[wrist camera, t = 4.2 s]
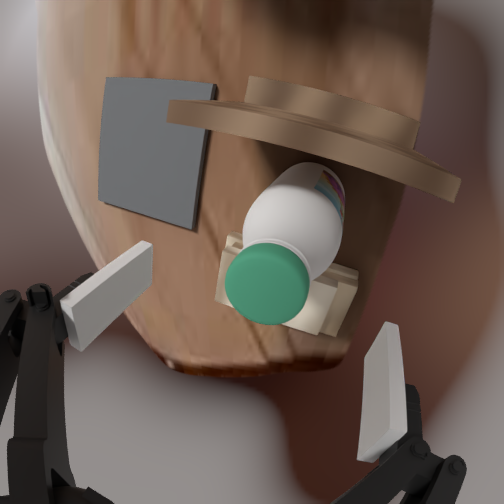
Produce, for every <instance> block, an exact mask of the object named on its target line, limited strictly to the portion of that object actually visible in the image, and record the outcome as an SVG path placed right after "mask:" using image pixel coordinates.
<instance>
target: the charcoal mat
mask: <svg viewBox="0 0 504 504" xmlns="http://www.w3.org/2000/svg"><path fill="white" fill-rule="evenodd" d="M216 85H217V84H210V83H201V82H192V81H181V80H169V79H153V78H123V77H106V83H105V91H104V99H103V109H102V119H101V132H100V148H99V178H98V200H99V201H102V202H106V203H109V204H112V205H115V206H118V207H121V208H125V209H128V210H131V211H134V212H137V213H141V214H144V215H147V216H150V217H153V218H156V219H160V220H163V221H166V222H169V223H172V224H175V225H178V226H182V227H185V228H188V229H191V230H192V229H193V228H194V227H195V222H196V214H197V206H198V198H199V191H200V183H201V176H202V169H203V162H204V156H205V149H206V143H207V137H208V129H203V128H197V127H192V126H186V125H180V124H173V123H167V122H166V120H167V112H168V105H169V100H214V96H215V90H216Z"/></svg>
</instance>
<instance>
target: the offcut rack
mask: <svg viewBox="0 0 504 504" xmlns="http://www.w3.org/2000/svg"><path fill="white" fill-rule="evenodd" d="M166 122H167V123H173V124H180V125H186V126H192V127H197V128H203V129H208V130H213V131H219V132H224V133H228V134H233V135H238V136H243V137H247V138H252V139H256V140H260V141H265V142H269V143H273V144H277V145H281V146H285V147H289V148H292V149H296V150H300V151H304V152H307V153H311V154H314V155H318V156H321V157H325V158H328V159H332V160H335V161H338V162H341V163H345V164H348V165H351V166H354V167H357V168H360V169H363V170H366V171H369V172H372V173H375V174H378V175H381V176H384V177H387V178H389V179H392V180H395V181H398V182H401V183H403V184H406V185H409V186H411V187H414V188H417V189H419V190H422V191H424V192H427V193H429V194H432V195H434V196H436V197H439V198H442V199H444V200H446V201H449V202H451V203H454V200H455V197H456V195H457V192H458V189H459V186H460V183H461V179H460V178H458V177H457V176H455V175H454V174H452V173H451V172H449V171H448V170H446V169H444V168H443V167H441V166H440V165H438V164H437V163H435V162H433V161H432V160H430V159H428V158H427V157H425V156H423V155H421V154H420V153H418V152H417V151H415V150H413V147H414V144H415V140H416V137H417V133H418V129H419V126H420V122H419V121H416V120H414V119H411V118H408V117H406V116H403V115H400V114H398V113H395V112H392V111H389V110H386V109H383V108H380V107H377V106H374V105H371V104H368V103H365V102H362V101H359V100H355V99H352V98H348V97H345V96H341V95H338V94H334V93H330V92H326V91H323V90H319V89H314V88H310V87H306V86H302V85H297V84H292V83H288V82H283V81H277V80H272V79H267V78H261V77H255V76H249V81H248V85H247V90H246V95H245V100H244V102H235V101H216V100H169V105H168V112H167V120H166ZM242 248H243V234H241V233H237V232H234V231H232V232H231V233H230V234H229V235H228V236H227V242H226V247H225V249H224V250H223V251H222V257H221V263H220V269H219V276H218V282H217V289H216V295H215V301H217V302H220V303H222V304H225V305H228V306H231V307H233V306H232V304H231V303H230V301H229V299H228V297H227V294H226V291H225V276H226V272H227V270H228V267H229V266H230V264H231V263H232V261H233V260H234V258H235V257H236V256H237V255H238V254H239V252H240V251H241V250H242ZM357 289H358V271H357V270H354V269H351V268H348V267H345V266H342V265H339V264H336V263H333V262H332V263H331V264H330V266H329V267H328V268H327V269H326V270H325V271H324V272H323V273H322V274H321V275H320V276H318V277H317V278H315V279H314V280H312V281H311V285H310V288H309V293H308V297H307V300H306V303H305V305H304V307H303V309H302V310H301V311H300V312H299V314H298V315H297V316H296V317H294V318H293V319H292V320H290V321H288V322H285V323H282V324H283V325H286V326H289V327H292V328H295V329H298V330H301V331H305V332H308V333H311V334H314V335H318V333H319V332H321V333H324V334H327V335H331V336H334V337H335V336H336V334H337V332H338V330H339V328H340V326H341V324H342V322H343V320H344V318H345V316H346V313H347V311H348V309H349V307H350V305H351V302H352V300H353V298H354V296H355V294H356V291H357Z"/></svg>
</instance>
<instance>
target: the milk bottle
mask: <svg viewBox="0 0 504 504" xmlns="http://www.w3.org/2000/svg"><path fill="white" fill-rule="evenodd" d="M344 212H345V193H344V188H343V185H342V183H341V181H340V179H339V178H338V177H337V175H336V174H335V173H334V172H333V171H332V170H330V169H329V168H327V167H326V166H324V165H321V164H318V163H313V162H304V163H299V164H296V165H294V166H292V167H290V168H289V169H287V170H286V171H285V172H283V173H282V174H281V175H280V176H279V177H278V178H277V179H276V180H275V181H274V182H273V183H271V184H270V185H269V186H268V187H267V188H266V189H265V190H264V191H263V192H262V193H261V195H260V196H259V197H258V198H257V199H256V200H255V202H254V203H253V205H252V206H251V208H250V210H249V212H248V214H247V216H246V219H245V222H244V226H243V248H242V250H241V251H240V252H239V254H238V255H237V256H236V257H235V258H234V260H233V261H232V263H231V264H230V266H229V267H228V270H227V272H226V276H225V291H226V294H227V297H228V299H229V301H230V303H231V304H232V306H233V307H234V308H235V309H236V310H237V311H238V312H239V313H240V314H241V315H243V316H244V317H246V318H247V319H249V320H251V321H254V322H256V323H260V324H265V325H278V324H282V323H285V322H288V321H290V320H292V319H293V318H294V317H296V316H297V315H298V314H299V312H300V311H301V310H302V309H303V307H304V305H305V303H306V300H307V297H308V293H309V288H310V285H311V281H312V280H314V279H315V278H317V277H318V276H320V275H321V274H322V273H323V272H324V271H325V270H326V269H327V268H328V267H329V266H330V264H331V263H332V262H333V260H334V258H335V256H336V254H337V252H338V250H339V247H340V243H341V238H342V233H343V224H344Z"/></svg>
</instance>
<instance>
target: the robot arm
mask: <svg viewBox="0 0 504 504" xmlns="http://www.w3.org/2000/svg"><path fill="white" fill-rule="evenodd" d="M152 258H153V244H151V243H148V242H145V241H141V242H139V243H138V244H136V245H135V246H133V247H132V248H130V249H129V250H128V251H126V252H125V253H123V254H122V255H120V256H119V257H118V258H116V259H115V260H113V261H112V262H111V263H109V264H108V265H106V266H105V267H104V268H102V269H101V270H100V271H98V272H97V273H96V274H93V273H88V274H85V275H82V276H81V277H79V278H78V279H77V280H75V282H72V283H71V284H70V286H67V287H66V288H65V289H63V290H62V291H60V292H59V293H58V294H56V295H55V296H54V297H52V292H51V288H50V287H49V285H46V284H42V283H40V284H35V285H33V286H31V287H29V288H28V289H27V291H26V295H27V299H28V301H25V300H22V298H21V294H20V292H19V291H17V290H7V291H5V292H3V293H2V294H1V295H0V425H1V422H2V418H3V415H4V412H5V409H6V405H7V402H8V399H9V396H10V394H11V390H12V388H13V385H14V382H15V379H16V377H17V374H18V378H17V388H16V399H15V400H16V401H15V415H14V436H13V438H11V439H9V440H8V444H7V465H8V484H9V495H6V496H0V504H114V503H113V502H112V501H110V500H109V499H107V498H105V497H104V496H102V495H101V494H99V493H97V492H96V491H94V490H93V489H91V488H90V487H88V488H87V489H82V488H79V487H76V484H75V480H74V477H73V474H72V472H71V469H70V465H69V458H68V449H67V439H66V426H65V410H64V409H65V407H64V349H65V344H64V340H65V339H66V338H67V337H68V338H69V341H70V345H72V346H73V347H75V348H76V349H78V350H80V351H83V350H84V349H85V348H86V347H87V346H88V345H89V344H90V343H91V342H92V341H93V340H94V339H95V338H96V337H97V336H98V335H99V334H100V333H101V332H102V331H103V330H104V329H105V328H106V327H107V326H108V325H109V324H110V323H111V322H112V321H114V319H116V318H117V316H119V315H120V314H121V313H122V312H123V311H124V310H125V309H126V308H127V307H128V306H129V305H130V304H131V303H132V302H133V301H135V300H136V299H137V298H138V297H139V296H140V295H141V294H142V293H143V292H144V291H145V290H146V289H147V288H148V287H150V286H151V285H152ZM420 411H421V409H420V399H419V394H418V392H417V390H416V388H415V386H413V385H409V384H405V381H404V370H403V360H402V351H401V343H400V335H399V328H398V325H396V324H393V323H390V322H386V321H385V323H384V325H383V327H382V328H381V330H380V332H379V334H378V335H377V338H376V339H375V341H374V342H373V344H372V346H371V348H370V349H369V351H368V353H367V354H366V356H365V358H364V384H363V401H362V415H361V428H360V437H359V448H358V456H357V460H360V461H365V462H372V463H373V462H374V461H375V460H376V459H378V458H379V465H378V466H377V467H376V468H374V469H373V470H372V471H371V472H369V473H368V475H367V476H365V477H364V478H363V479H362V480H360V481H359V482H358V483H357V484H355V485H354V486H353V487H352V488H350V489H349V490H348V491H347V492H345V493H344V494H343V495H341V496H340V497H339V498H337V499H336V500H335V501H333V502H332V503H330V504H388V503H389V502H390V501H391V500H392V499H393V498H394V497H395V496H396V495H397V494H398V493H399V492H400V491H401V490H403V491H405V492H406V493H405V495H404V497H403V499H402V500H401V502H400V504H455V502H456V499H457V496H458V494H459V491H460V489H461V486H462V483H463V481H464V478H465V475H466V470H467V468H466V464H465V462H464V460H463V459H462V458H461V457H460V456H456V455H451V456H449V457H448V458H446V459H443V458H441V457H438V456H437V455H434V454H433V453H431V452H430V451H431V450H430V447H429V445H428V444H427V443H426V441H424V440H423V438H422V421H421V413H420Z"/></svg>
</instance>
